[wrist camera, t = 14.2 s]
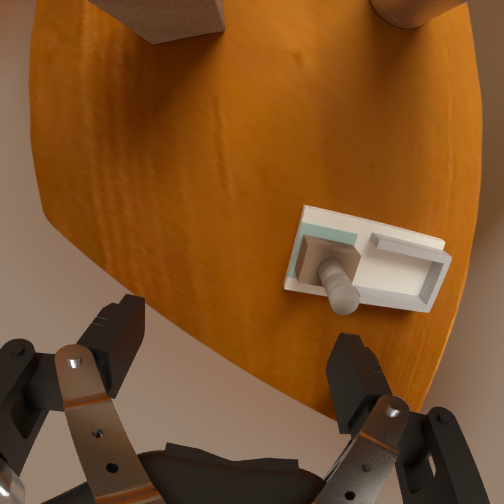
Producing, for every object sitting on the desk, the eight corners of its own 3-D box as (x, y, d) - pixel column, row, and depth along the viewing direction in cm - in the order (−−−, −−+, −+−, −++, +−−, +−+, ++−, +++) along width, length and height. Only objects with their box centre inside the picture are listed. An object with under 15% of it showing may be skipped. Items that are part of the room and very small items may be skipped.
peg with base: (352, 244, 40) (383, 286, 29) (342, 277, 42) (367, 326, 31) (303, 234, 40) (320, 275, 29) (294, 269, 42) (306, 318, 31)
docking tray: (440, 238, 42) (455, 249, 37) (414, 305, 46) (425, 319, 42) (303, 204, 40) (308, 213, 36) (283, 284, 45) (285, 299, 41)
